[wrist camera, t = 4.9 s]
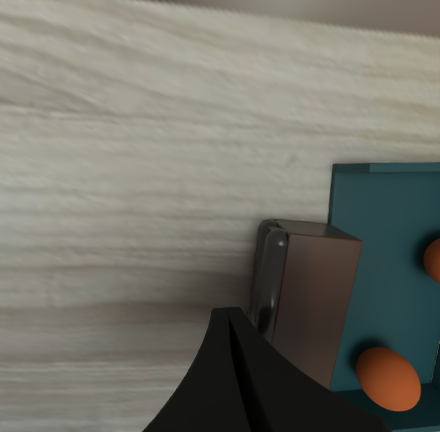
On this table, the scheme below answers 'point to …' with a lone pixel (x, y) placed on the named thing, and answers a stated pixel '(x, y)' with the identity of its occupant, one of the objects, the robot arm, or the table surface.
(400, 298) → the dustpan
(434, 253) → the ball
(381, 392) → the ball
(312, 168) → the table surface
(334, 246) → the brush
